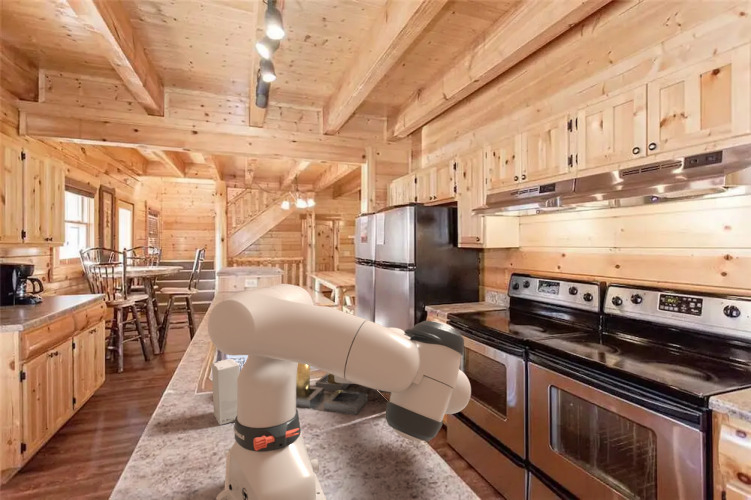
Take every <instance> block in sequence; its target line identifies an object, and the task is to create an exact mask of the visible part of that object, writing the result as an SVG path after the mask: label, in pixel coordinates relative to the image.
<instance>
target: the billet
mask: <svg viewBox="0 0 751 500" xmlns="http://www.w3.org/2000/svg"><path fill="white" fill-rule="evenodd" d="M327 383H332V384H340V385H341V384H342V383H336V382H335V381H334V375H333V374H330V373H328V381H327Z"/></svg>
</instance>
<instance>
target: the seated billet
mask: <svg viewBox="0 0 751 500" xmlns="http://www.w3.org/2000/svg"><path fill="white" fill-rule="evenodd" d="M310 370H311V366H309V365H305V364H301V363H298V367H297V377H296V396H298V397H306V398H307V397H309V396H310V386H311V381H310V379H311V375H310V374H311V371H310Z"/></svg>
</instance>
